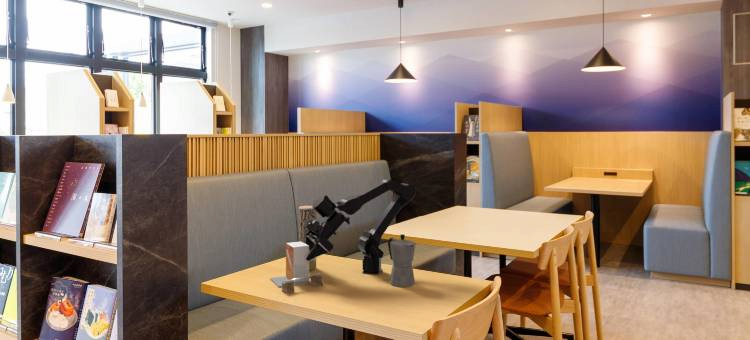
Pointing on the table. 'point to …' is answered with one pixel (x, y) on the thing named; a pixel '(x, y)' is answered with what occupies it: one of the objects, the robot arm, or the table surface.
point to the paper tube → (304, 214)
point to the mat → (279, 280)
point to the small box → (297, 260)
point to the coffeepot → (401, 261)
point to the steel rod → (301, 278)
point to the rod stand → (289, 286)
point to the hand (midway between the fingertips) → (303, 257)
